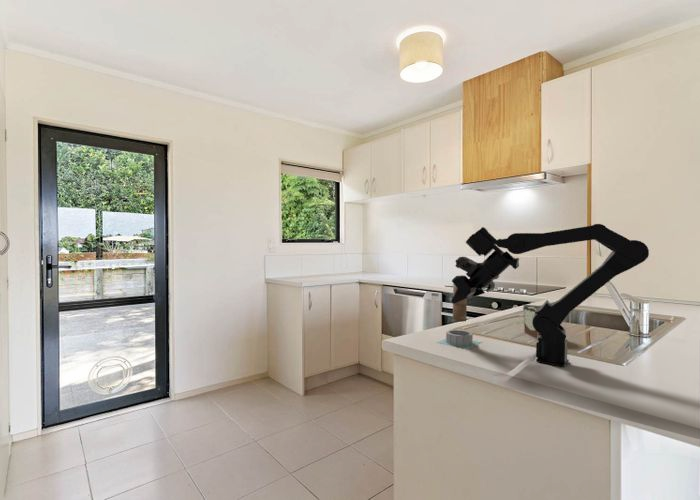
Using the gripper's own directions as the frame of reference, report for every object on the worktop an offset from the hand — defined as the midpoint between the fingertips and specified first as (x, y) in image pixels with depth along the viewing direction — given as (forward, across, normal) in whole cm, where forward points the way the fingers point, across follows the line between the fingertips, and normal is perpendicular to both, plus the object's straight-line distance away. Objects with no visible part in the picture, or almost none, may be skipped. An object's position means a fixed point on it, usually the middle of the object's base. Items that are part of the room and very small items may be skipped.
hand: (455, 301), depth 111 cm
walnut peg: (+3, 0, +5) cm, 6 cm away
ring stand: (+9, 0, +10) cm, 14 cm away
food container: (-2, -30, +21) cm, 37 cm away
